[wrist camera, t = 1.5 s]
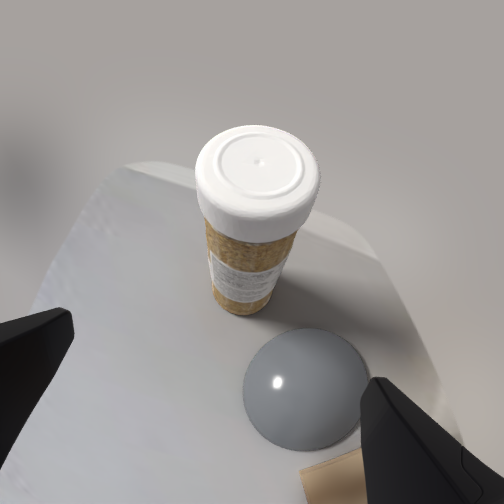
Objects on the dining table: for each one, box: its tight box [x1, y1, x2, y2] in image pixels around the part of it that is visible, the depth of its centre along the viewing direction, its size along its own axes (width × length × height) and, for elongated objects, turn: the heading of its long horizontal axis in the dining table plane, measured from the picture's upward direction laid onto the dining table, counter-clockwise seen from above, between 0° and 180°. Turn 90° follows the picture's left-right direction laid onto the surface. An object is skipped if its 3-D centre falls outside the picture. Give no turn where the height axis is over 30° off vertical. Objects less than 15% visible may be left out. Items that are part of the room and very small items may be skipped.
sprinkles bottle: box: [195, 125, 321, 315], centre depth 16 cm, size 5×5×14 cm
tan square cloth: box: [299, 448, 367, 504], centre depth 15 cm, size 7×7×1 cm
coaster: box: [243, 328, 368, 451], centre depth 19 cm, size 9×9×1 cm
